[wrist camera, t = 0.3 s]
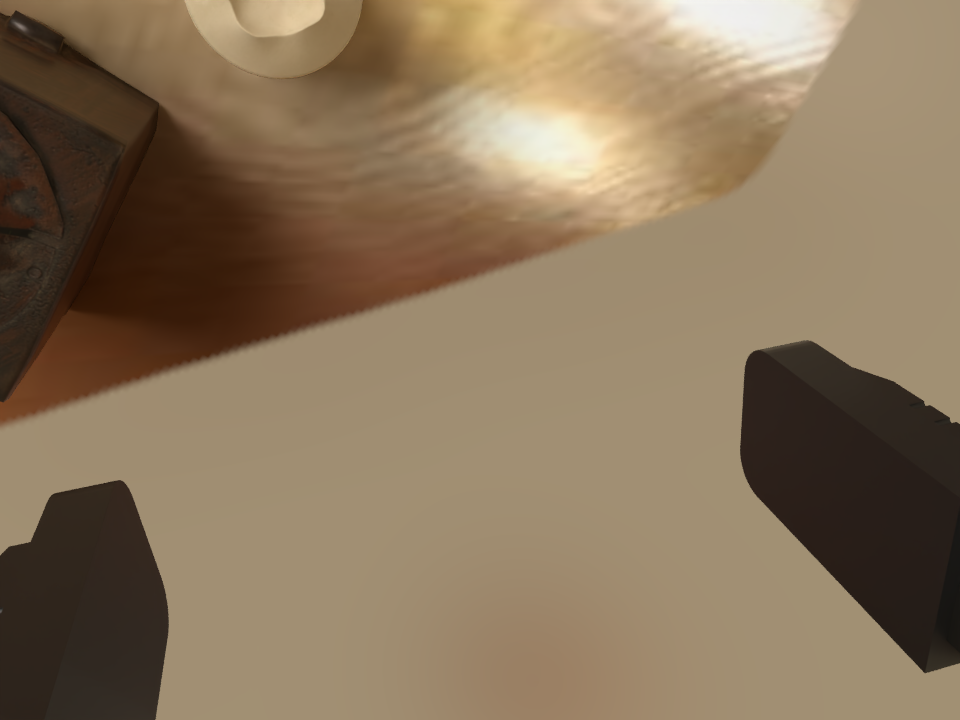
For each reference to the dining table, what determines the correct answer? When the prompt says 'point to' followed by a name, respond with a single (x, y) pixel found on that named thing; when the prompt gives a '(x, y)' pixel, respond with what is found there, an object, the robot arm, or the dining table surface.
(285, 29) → the candle
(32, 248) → the coffee grinder
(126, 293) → the dining table surface
